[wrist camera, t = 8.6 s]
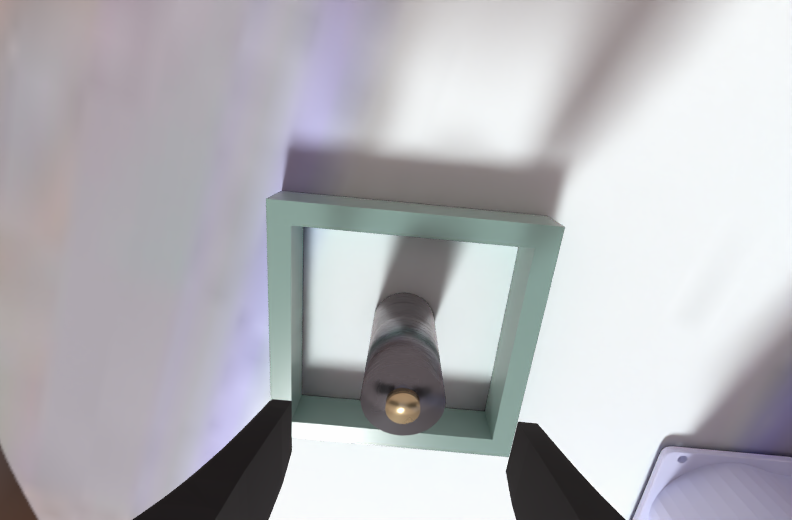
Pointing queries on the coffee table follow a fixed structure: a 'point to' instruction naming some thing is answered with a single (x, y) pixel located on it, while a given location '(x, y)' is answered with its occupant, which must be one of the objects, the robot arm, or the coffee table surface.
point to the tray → (524, 231)
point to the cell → (403, 368)
